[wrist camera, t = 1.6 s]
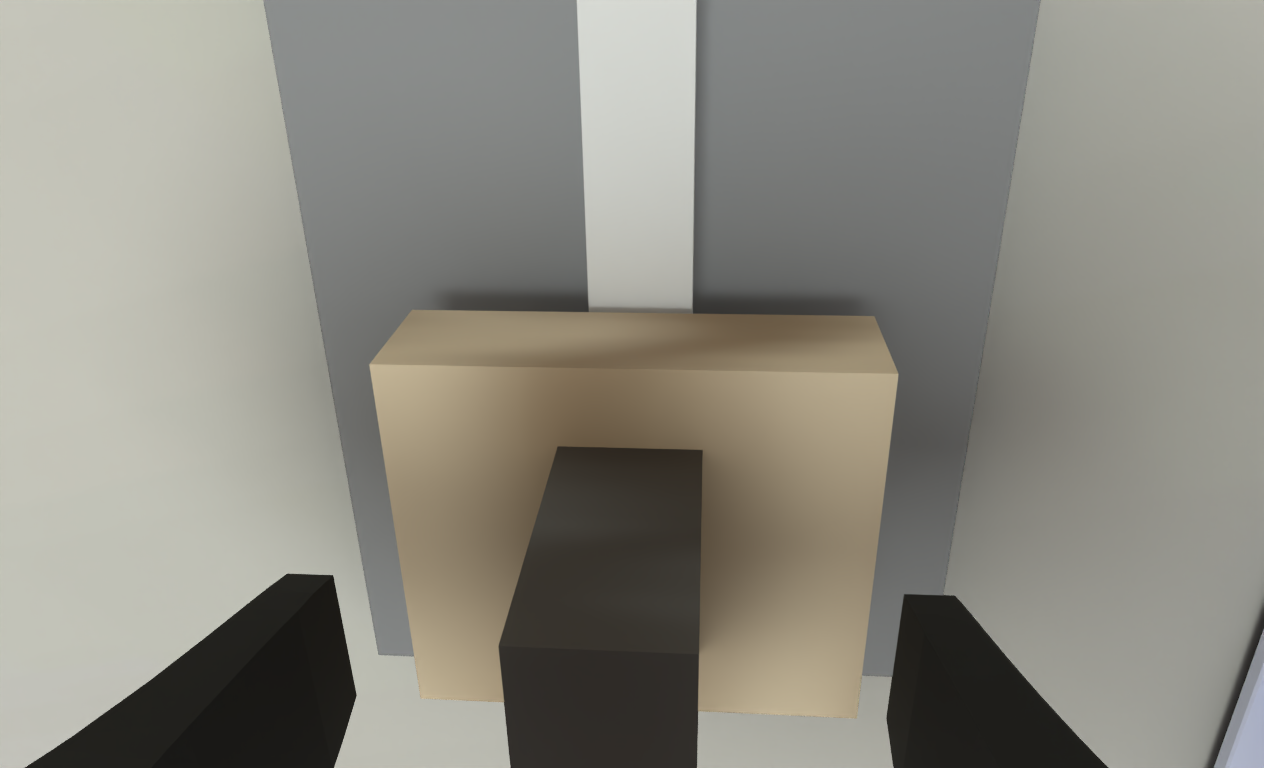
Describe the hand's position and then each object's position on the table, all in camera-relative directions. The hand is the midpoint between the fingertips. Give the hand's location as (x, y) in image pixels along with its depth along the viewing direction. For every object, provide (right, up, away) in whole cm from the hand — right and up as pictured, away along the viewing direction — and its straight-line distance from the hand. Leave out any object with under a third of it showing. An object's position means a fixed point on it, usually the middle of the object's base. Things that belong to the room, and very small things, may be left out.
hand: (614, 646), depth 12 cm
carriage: (0, +2, +4) cm, 4 cm away
